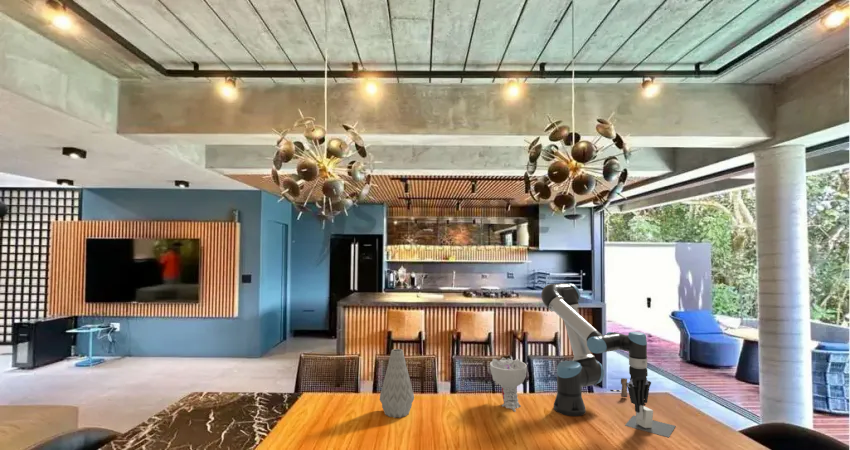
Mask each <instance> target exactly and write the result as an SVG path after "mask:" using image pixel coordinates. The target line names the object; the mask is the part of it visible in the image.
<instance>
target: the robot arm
mask: <svg viewBox="0 0 850 450" xmlns="http://www.w3.org/2000/svg"><path fill="white" fill-rule="evenodd" d="M540 297H541V301H542V302H543V304H544V306H545V307H546V308H547V309H548V310H549V311H551V312H554V313H555V314H556V315H558V317H559V318H561V319H562V320H563V323H564V327H565V329H566V333H567V337H568V340H569V343H570V344H569V345H570V346H571V350H572V352H573V353H572V354H573V358H572V360H563V361H561V362H559V363H558V364H557V365H556V366H557V367H556V390H557V391H556V397H555V399H554V401H553V410H554V411H555V412H556V413H558V414H560V415H564V416H569V417H580V416H584V415H585V414H586V405H585V403H584V400H583V399H584V398H583V397H582V388H585V387H589V386H595V385H597V384H599V383H601V382H602V381H603V379H604V378H605V377H604V376H605V369H604V366H603V365H602V363H600V361H598V360H597V359H596V356H595V355H594V354H603V353H608V352H614V351H623V352H628V365H629V367H628V371H629V372H628V374H629V376H630V378H629V382H627V383H626V386H627V392H628V395H629V399H630V403H631V404H633V405H634V411H635V416H636V418H637V419H639V420H643V411H644V409H643V406H645V407H646V404H647V403H648V400H649V399H648V398H649V395H650V394H649V393H650V389H651V388H650V387H651V385H652V381H649V380H648V378H647V377H648V376H649V375H648V368H647V367H648V353H647V351H648V348H647V347H648V341H647V335H646V334H645V333H644V332H640V331H629V332H628V334H624V333H619V332H616V331H614V332H613V331H609V332H606V334H605V335H603V334H602V333H601V332H600V331H598V330H597V329H596V328H595V327H594V326H592V324H591V323H589V322H588V321H587V320H586V319H585V318H584V317H583V316H582V315H581V314H580V313H579V311H578V310H579V309H578V307H579V306H580V304H579V302H580V298H581V292H580V289H579V288H578V286H576V285H575V284H574V283H569V282H562V283H550V284H547V285H545V286H544V287H543V288H542V290H541V296H540Z"/></svg>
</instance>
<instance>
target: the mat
mask: <svg viewBox="0 0 850 450" xmlns="http://www.w3.org/2000/svg"><path fill="white" fill-rule="evenodd" d="M636 419H637V418H636V415H634V414H633V415H632V416H631V417H630V418H629V420H627V422H626V423H625V425H624V426H625V427H628V428H632V429H635V430H640V431H643V432H647V433H650V434H654V435H658V436H662V437H665V438H670V436H671V435H672V434H673V432H674V430H675V428H676V425H673V424H671V423H670V424H669V423H666V422H662V421H658V420H654V419H652V428H643V427H641V426H640V425H638V424H636Z"/></svg>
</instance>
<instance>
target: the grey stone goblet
mask: <svg viewBox="0 0 850 450" xmlns="http://www.w3.org/2000/svg"><path fill="white" fill-rule="evenodd" d="M489 369H490V370H489V371H490V374H491V376H492V380H493V382H495V385H496V386H498V385H499V386H501V395H502V400H503V403H502V405H501V407H502V408H503V407H504V408H506V409H511V410H512V411H513V412H515V413H516V412H517V409H519V408H520V407H522V406H521V404H520V402H519V398H518V396H519V395H518V387H519V386H520V385H522V384H523V383H524V381H525V379H526V376H527V371H528V365H527V364H526V363H525V362H523V361H521V360H520V358H516V359H514V360H513V359H511V358H507V359H506V358H505V357H502V358H500V359H496V358H492V361H490V363H489Z"/></svg>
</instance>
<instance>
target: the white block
mask: <svg viewBox="0 0 850 450" xmlns="http://www.w3.org/2000/svg"><path fill="white" fill-rule="evenodd" d="M643 409H644V411H643V420H639V419H636V424H638V425H640V426H641V427H643V428H652V420H654V419H653V418H654V417H653V416H654V410H653V409H651V408H649V407H648V406H646V405H645V406H644V405H643Z"/></svg>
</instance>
